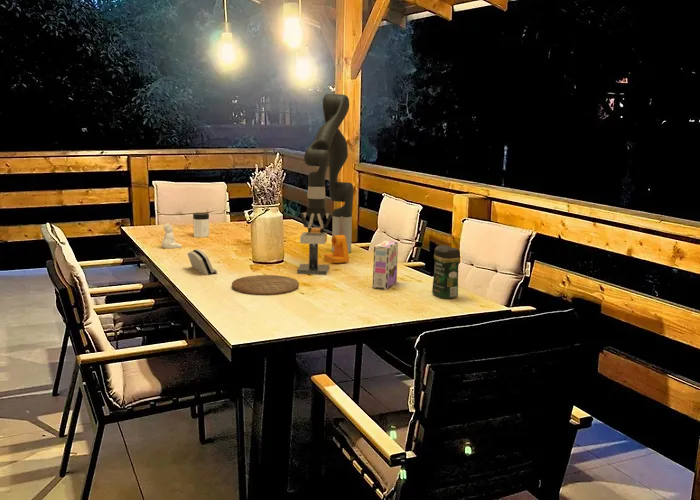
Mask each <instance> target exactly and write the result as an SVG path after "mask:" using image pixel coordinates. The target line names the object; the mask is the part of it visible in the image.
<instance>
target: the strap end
mask: <svg viewBox="0 0 700 500" xmlns="http://www.w3.org/2000/svg"><path fill="white" fill-rule="evenodd" d="M311 228H312V229H311V230H310V232H308V231H303V232H302V233H301V234H300V235H299V236H300V238H299V243H300V244H308V245H309V244H318V245H325V244H326V243H327V241H328V232H324V233H320V229H321V227H315V226H314V227H312V226H311Z"/></svg>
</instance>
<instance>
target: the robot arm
mask: <svg viewBox="0 0 700 500" xmlns="http://www.w3.org/2000/svg"><path fill="white" fill-rule="evenodd" d="M349 108H350V100H349V96H347V95H346V94H341V93H340V94H339V93H327V94H324V96H323V98H322V110H323V119H324V123H323V125H322V126H321V127H320V128H319V129H318V131H317V133H316V137H315V138H314V140H313V142H312V143H311V144H310V145H309V146H308V148H307V149H306V151H305V153H304V156H303V162H305V164H306V165H307V166H308V167H318V169H317V170H316V171H312V172H309V173H308V181H307V183H308V185H307V195H306V197H307V198H306V199H307V203H306V205H307V206H306V207H307V209H306V211H305V212H301V213H300V214H299V215H300V219H301V222H302V225H303V227H304V228H307V232H310V230H311V229H312V225H313V223H314V222H315V221H316V222H318V223H319V228H321V229H320V233H325V229H327V228H328V227H329V224H330V221H332V225H331V226H332V228H331V230H332V231H331V235H332V236H333V235H345V237H346V241H347V248H348V254H350V253H351V252H352V236H353V235H352V230H353V229H352V226H353V224H352V222H353V202H354V185H353V183H352V182H346V181H345V182H343V181H342V182H341V181H338V177H339V173H340V172H341V170H342V168H343V166H344V165H345V163H346V162H347V159H348V155H349V150H348V142H347V140H346V137H345V136H344V135H343V133H342V131H341V130H340V129H339V128H340V126H341V125H342V123H343V121H344V120H345V117H346V116H347V114H348V113H349V110H350V109H349ZM328 168H329V169H328ZM327 170H328V171H329V175H328V176H329V197H330V200H331V201H332V202H339V203H344V205H342V206H340V207H338V208H335V209H333V210H332V213H328V212H327V211H326V176H327V175H326V174H327ZM325 216H326V217H325ZM306 217H308V218H309V222H308V223H307V219H306ZM324 217H325V218H326V222H325V224H324V221H323V220H324V219H323V218H324ZM332 236H331V237H332ZM332 252H334V247H333V246H332V245H331V253H332Z"/></svg>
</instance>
